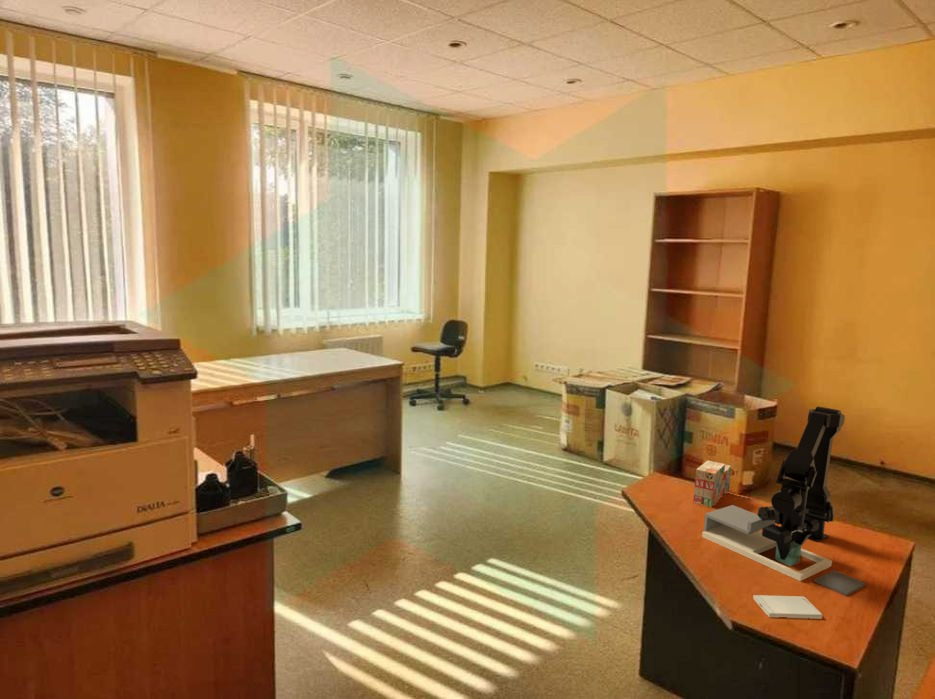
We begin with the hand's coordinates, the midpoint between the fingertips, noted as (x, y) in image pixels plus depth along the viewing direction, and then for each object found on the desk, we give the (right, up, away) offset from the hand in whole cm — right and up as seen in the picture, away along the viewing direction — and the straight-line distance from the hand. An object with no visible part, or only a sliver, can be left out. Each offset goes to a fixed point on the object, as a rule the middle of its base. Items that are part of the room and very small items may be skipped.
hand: (787, 557), depth 174 cm
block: (0, -1, 0) cm, 1 cm away
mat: (+8, -3, -11) cm, 14 cm away
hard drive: (-12, -5, -24) cm, 27 cm away
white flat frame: (-4, 0, +6) cm, 7 cm away
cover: (-8, +3, +12) cm, 15 cm away
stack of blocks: (-3, +6, +46) cm, 46 cm away
